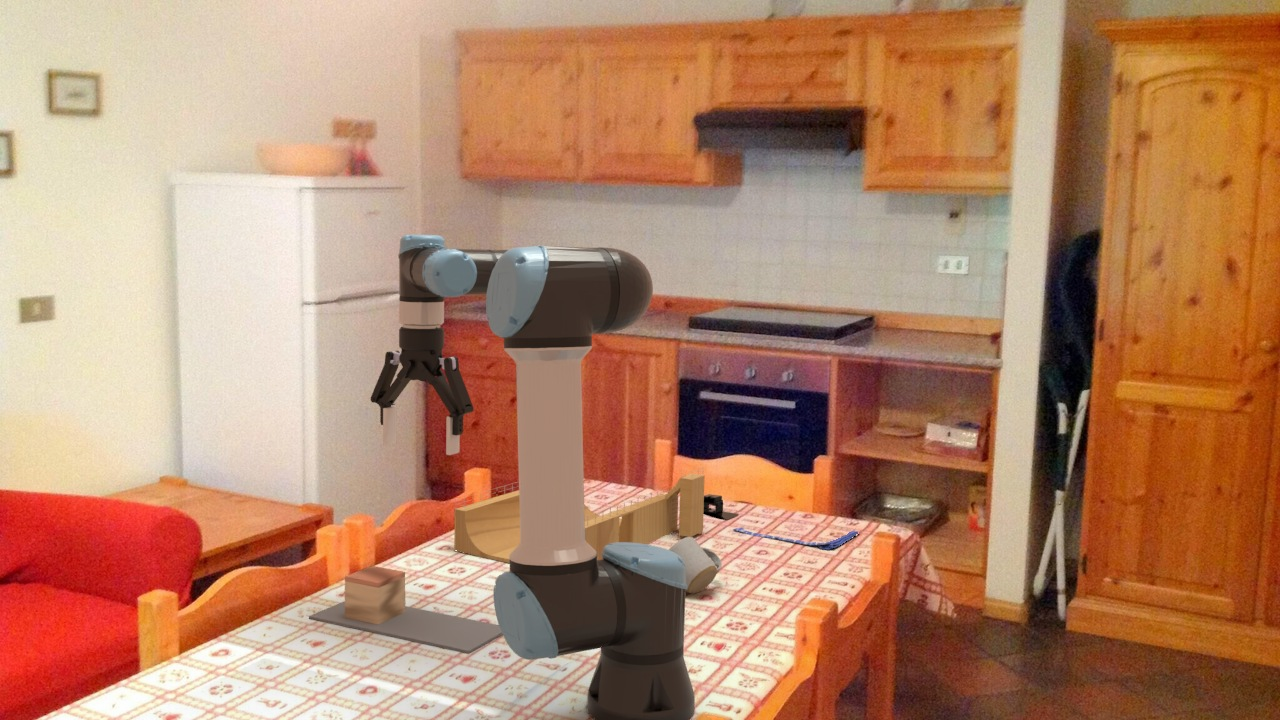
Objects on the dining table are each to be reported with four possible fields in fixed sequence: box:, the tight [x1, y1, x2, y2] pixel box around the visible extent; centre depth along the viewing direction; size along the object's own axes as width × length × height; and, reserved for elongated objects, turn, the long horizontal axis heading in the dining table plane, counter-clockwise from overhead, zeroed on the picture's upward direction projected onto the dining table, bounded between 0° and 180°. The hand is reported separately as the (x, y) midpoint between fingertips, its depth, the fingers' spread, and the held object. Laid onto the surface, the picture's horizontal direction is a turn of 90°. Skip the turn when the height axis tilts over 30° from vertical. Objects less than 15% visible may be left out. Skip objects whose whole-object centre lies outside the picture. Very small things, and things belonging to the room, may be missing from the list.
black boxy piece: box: [703, 493, 740, 521], centre depth 263 cm, size 12×7×5 cm, turn 54°
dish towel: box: [732, 527, 859, 551], centre depth 249 cm, size 17×24×3 cm
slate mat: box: [308, 600, 503, 654], centre depth 189 cm, size 12×32×1 cm, turn 64°
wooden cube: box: [344, 565, 406, 625], centre depth 191 cm, size 7×7×7 cm
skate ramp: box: [453, 465, 706, 564], centre depth 237 cm, size 40×35×16 cm
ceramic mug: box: [668, 536, 723, 595], centre depth 210 cm, size 11×8×8 cm
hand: (420, 449), depth 196 cm, fingers open, 13 cm apart
